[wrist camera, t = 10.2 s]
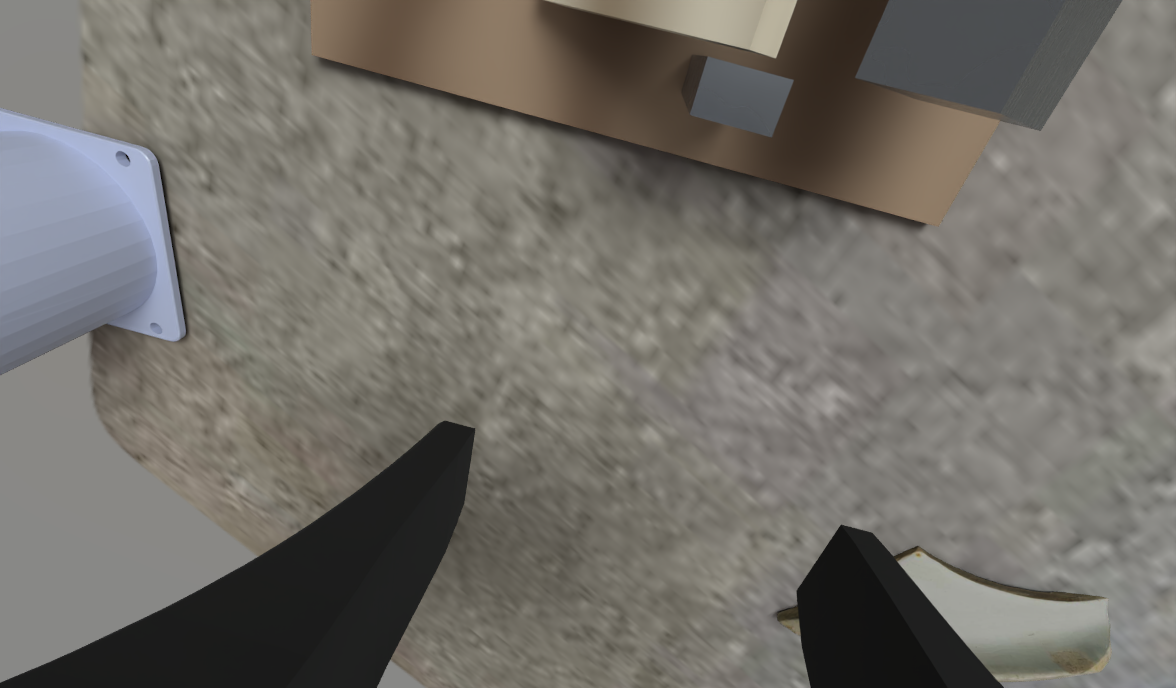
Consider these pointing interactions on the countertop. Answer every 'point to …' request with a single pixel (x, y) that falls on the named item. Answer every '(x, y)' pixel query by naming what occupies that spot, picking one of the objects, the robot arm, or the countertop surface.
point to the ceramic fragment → (1010, 622)
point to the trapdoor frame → (682, 90)
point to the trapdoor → (917, 45)
